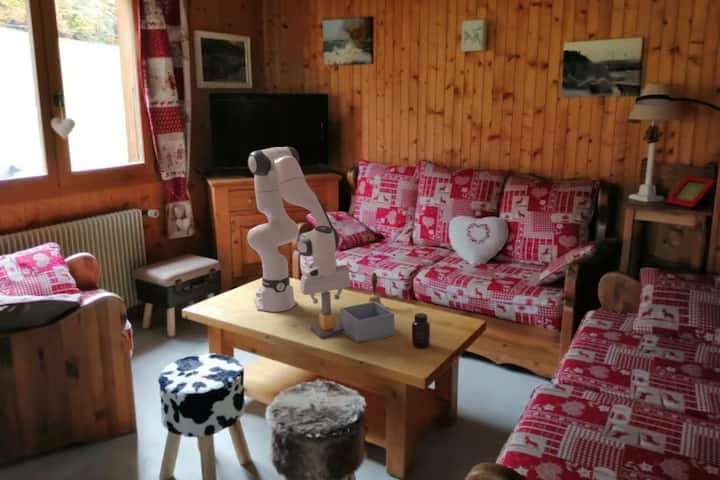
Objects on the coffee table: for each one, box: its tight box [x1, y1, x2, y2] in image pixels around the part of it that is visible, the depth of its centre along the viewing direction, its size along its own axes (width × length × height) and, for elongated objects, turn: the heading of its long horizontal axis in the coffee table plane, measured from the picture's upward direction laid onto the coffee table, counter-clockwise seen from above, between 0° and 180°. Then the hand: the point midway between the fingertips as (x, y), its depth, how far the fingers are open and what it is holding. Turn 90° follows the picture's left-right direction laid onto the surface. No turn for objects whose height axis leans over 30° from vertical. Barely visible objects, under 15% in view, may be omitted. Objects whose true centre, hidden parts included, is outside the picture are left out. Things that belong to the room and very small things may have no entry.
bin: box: [339, 301, 395, 344], centre depth 234 cm, size 16×16×9 cm
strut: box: [318, 291, 335, 330], centre depth 234 cm, size 4×4×15 cm
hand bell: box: [368, 272, 385, 307], centre depth 260 cm, size 8×8×16 cm
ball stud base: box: [310, 321, 345, 339], centre depth 235 cm, size 10×10×6 cm
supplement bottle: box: [411, 312, 431, 349], centre depth 221 cm, size 7×7×12 cm
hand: (326, 301), depth 233 cm, fingers open, 8 cm apart
